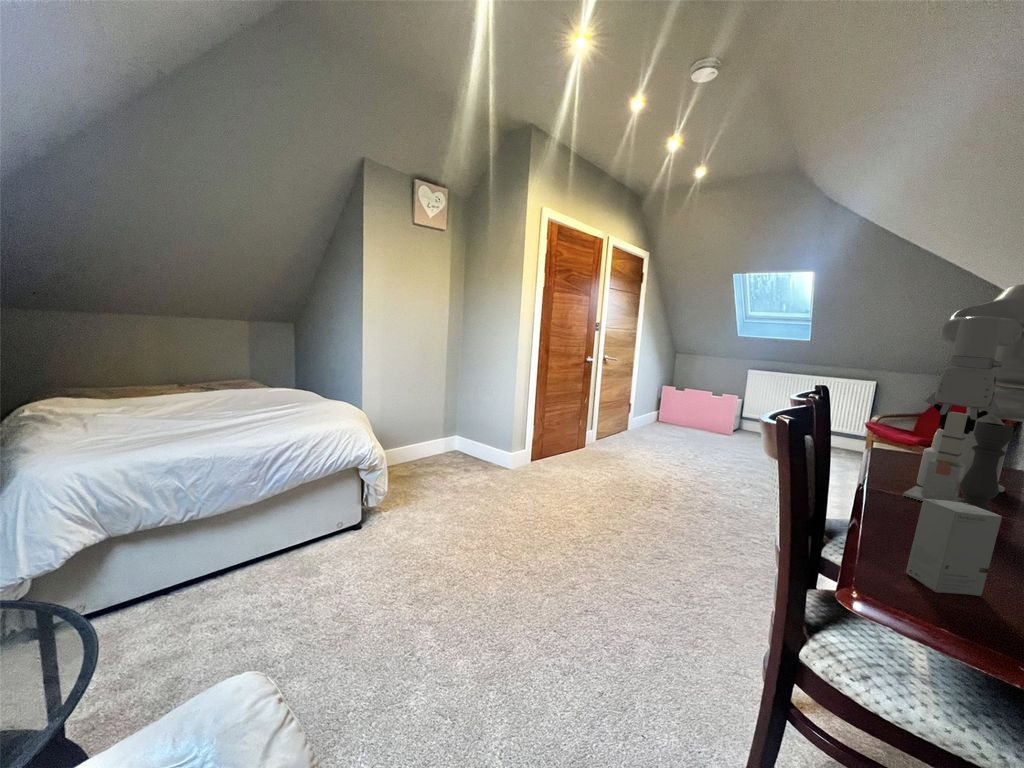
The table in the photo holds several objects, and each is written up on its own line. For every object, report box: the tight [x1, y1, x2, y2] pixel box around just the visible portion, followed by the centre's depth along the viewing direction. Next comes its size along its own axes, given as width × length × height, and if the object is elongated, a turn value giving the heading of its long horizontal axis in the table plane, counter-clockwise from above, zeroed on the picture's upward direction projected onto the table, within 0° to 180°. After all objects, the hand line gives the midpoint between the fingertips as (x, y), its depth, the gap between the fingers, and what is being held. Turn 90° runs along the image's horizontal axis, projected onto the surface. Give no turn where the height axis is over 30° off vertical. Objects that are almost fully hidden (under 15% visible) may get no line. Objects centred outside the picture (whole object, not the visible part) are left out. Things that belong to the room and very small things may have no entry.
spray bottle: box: [916, 428, 944, 488], centre depth 123 cm, size 7×7×18 cm
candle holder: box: [957, 422, 1015, 513], centre depth 97 cm, size 6×6×25 cm
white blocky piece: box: [902, 458, 966, 502], centre depth 113 cm, size 12×12×12 cm
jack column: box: [936, 411, 970, 467], centre depth 111 cm, size 4×4×18 cm
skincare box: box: [905, 499, 1003, 597], centre depth 72 cm, size 8×6×15 cm
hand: (955, 430), depth 110 cm, fingers closed on jack column, 3 cm apart
